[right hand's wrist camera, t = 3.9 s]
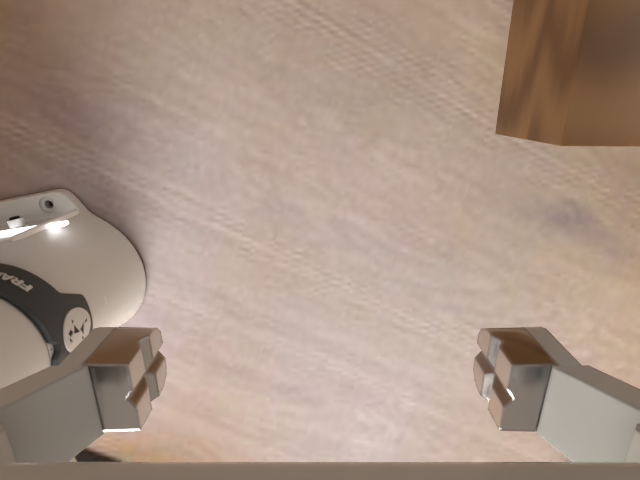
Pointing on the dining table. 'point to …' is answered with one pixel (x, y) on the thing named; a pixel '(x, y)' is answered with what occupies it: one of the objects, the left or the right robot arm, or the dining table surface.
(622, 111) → the bar
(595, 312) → the dining table surface
